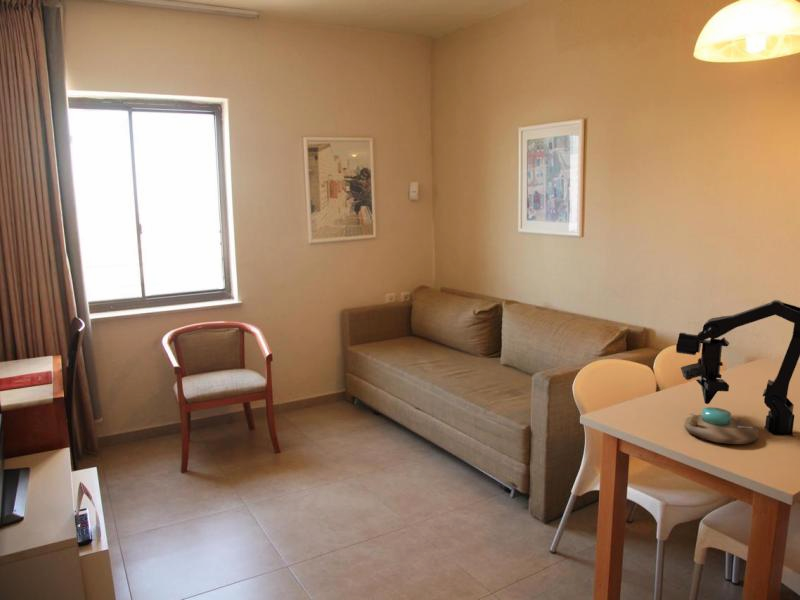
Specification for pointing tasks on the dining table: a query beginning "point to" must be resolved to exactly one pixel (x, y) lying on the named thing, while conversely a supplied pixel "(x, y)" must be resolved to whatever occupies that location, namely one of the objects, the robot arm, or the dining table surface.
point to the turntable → (722, 430)
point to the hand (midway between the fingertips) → (706, 403)
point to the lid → (716, 416)
